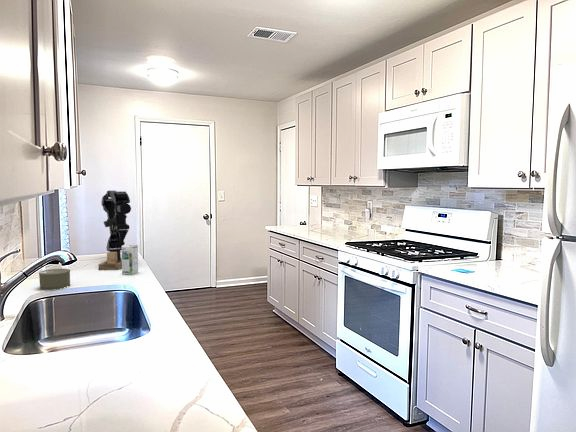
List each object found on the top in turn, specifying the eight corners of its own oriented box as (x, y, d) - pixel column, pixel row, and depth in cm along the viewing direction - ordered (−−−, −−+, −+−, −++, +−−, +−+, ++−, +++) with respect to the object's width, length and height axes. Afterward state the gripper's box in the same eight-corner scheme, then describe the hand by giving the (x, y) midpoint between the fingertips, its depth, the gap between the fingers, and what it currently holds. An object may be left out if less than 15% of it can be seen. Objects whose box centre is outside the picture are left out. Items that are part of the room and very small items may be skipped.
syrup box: (121, 274, 204) (120, 245, 203) (129, 271, 209) (128, 244, 208) (131, 275, 202) (130, 246, 201) (138, 272, 208) (138, 244, 207)
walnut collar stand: (106, 266, 224) (105, 260, 223) (125, 266, 224) (125, 260, 224) (98, 270, 213) (98, 264, 213) (119, 269, 214) (118, 264, 214)
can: (70, 288, 176) (69, 272, 176) (38, 291, 171) (37, 275, 170) (71, 282, 187) (70, 267, 186) (40, 285, 182) (40, 269, 181)
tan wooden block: (109, 267, 221) (109, 251, 220) (117, 267, 221) (117, 251, 220) (107, 268, 217) (106, 253, 216) (115, 268, 217) (114, 253, 216)
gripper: (102, 213, 229) (102, 241, 229) (107, 213, 213) (106, 243, 213) (123, 214, 235) (123, 241, 235) (129, 214, 219) (129, 242, 219)
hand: (120, 242), depth 226 cm, fingers open, 9 cm apart
